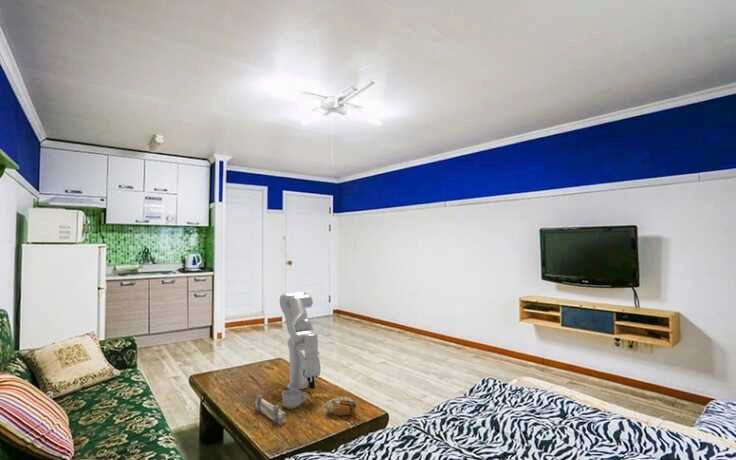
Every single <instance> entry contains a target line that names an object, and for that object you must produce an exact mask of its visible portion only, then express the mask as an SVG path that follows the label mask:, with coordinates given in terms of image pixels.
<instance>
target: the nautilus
mask: <svg viewBox="0 0 736 460" xmlns="http://www.w3.org/2000/svg"><path fill="white" fill-rule="evenodd" d="M324 408H325V410H326V412H328V413H332V414H334V415H335V416H340V417H341V416H345V415H347V416H351V417H352V419H360V418H359V415H358V413H360V411H359V410H358V407H357V404H356V403H355V401H354V400H353V399H352V398H350V397H348V396H337V397H333V398H332V399H331V398H330V399H329V400H327V401H326V402H325V405H324ZM354 417H355V418H354Z"/></svg>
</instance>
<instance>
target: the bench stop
mask: <svg viewBox="0 0 736 460" xmlns="http://www.w3.org/2000/svg"><path fill="white" fill-rule="evenodd" d="M255 409H256V412H257V413H261V414H263V415H264V416H266V417H268V418H269V419H270V420H272V423H273V424H276V425H277V424H278V425H279V426H282V425H284V424H286V421H287V420H286V419H287V417H286V415H287V414H286V412H285V411H283V410H281V409H280V407H279V405H278V404H275V405H273V404H272V403H270V402H269V401H267V400H265V399H264V398H263V396H262V395H261V394H257V395H256V398H255Z"/></svg>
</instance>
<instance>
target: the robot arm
mask: <svg viewBox="0 0 736 460" xmlns="http://www.w3.org/2000/svg"><path fill="white" fill-rule="evenodd" d="M279 296H280V297H279V306H280V309H281V312H282V313H283V315H284V318H285V323H286V328H287V333H288V334H289V335H290V337H289V338H288V340H287V347H288V354H289V382H288V383H287V386H286V388H287V390H290V389H301V390H304V389H306V388H309V389H310V390H314V389H315V388H316V384H315V383H316V381H317V378H318V377H319V376H321V361H320V360H321V359H320V358H319V357H320V356H319V355H320V351H319V347H318V346H319V345H318V343H319V341H318V340H319V339H318V334H317V333H316V332H315V331H314V328H313V327H314V326H313V323H312V321H311V320H310V318H308V313H307V309H308V308H311V307H313V302H314V301H313V298H312V296H311V294H309V293H308V292H305V291H295V292H285V293H283V294H281V295H279ZM302 351H304V353H303V352H302Z"/></svg>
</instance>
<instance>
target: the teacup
mask: <svg viewBox="0 0 736 460" xmlns="http://www.w3.org/2000/svg"><path fill="white" fill-rule="evenodd" d="M281 395H282V396H281V397H282V400H281V401H282V405H283V407H285V408H286V409H288V410H293V409H297V408H298V407H299V406H300V405H301V404H303V402H305V401H306V400H308V397H309V396H308V393H307V392H306V391H304V392H303V391H302V389H301V390H299V389H287V390H283V391H282V393H281ZM304 395H305V397H304V398H303V396H304Z"/></svg>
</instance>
